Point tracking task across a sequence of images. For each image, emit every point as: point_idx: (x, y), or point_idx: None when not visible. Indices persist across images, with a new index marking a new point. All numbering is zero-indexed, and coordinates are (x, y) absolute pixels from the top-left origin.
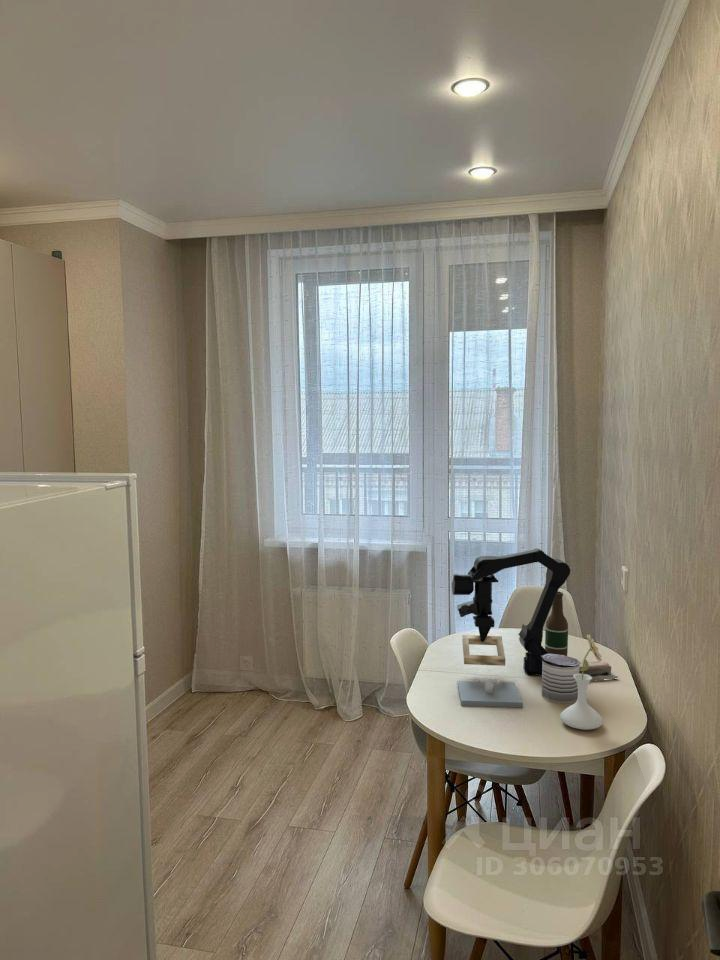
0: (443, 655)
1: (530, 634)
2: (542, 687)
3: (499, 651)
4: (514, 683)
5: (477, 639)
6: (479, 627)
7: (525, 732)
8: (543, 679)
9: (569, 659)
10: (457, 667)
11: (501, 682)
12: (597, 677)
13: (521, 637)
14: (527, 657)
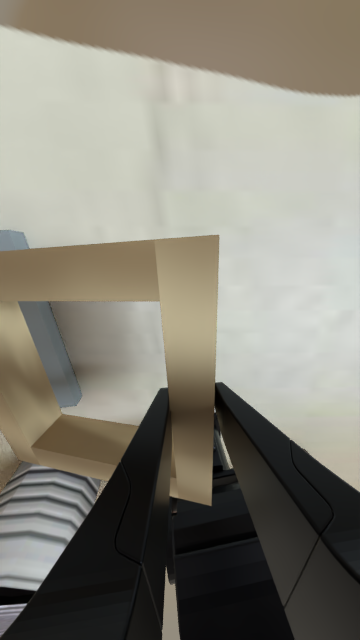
0: (345, 170)
1: (179, 628)
2: (30, 468)
3: (64, 457)
4: (67, 406)
5: (170, 372)
6: (22, 630)
7: None
8: (9, 499)
9: None
10: (212, 233)
11: (61, 376)
12: None
13: (209, 555)
14: None
